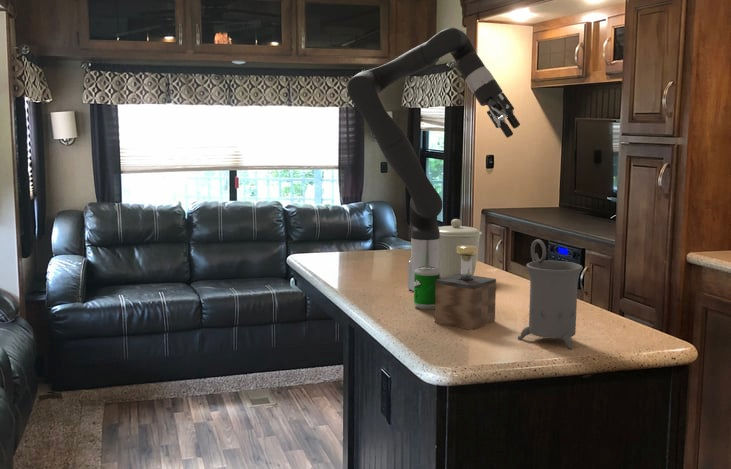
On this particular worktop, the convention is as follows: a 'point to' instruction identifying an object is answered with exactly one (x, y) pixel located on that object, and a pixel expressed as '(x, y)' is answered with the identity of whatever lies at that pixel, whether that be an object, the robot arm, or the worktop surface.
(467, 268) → the brass round peg
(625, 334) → the worktop surface
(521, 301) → the worktop surface
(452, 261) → the canister
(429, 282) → the soda can
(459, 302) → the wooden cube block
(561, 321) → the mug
